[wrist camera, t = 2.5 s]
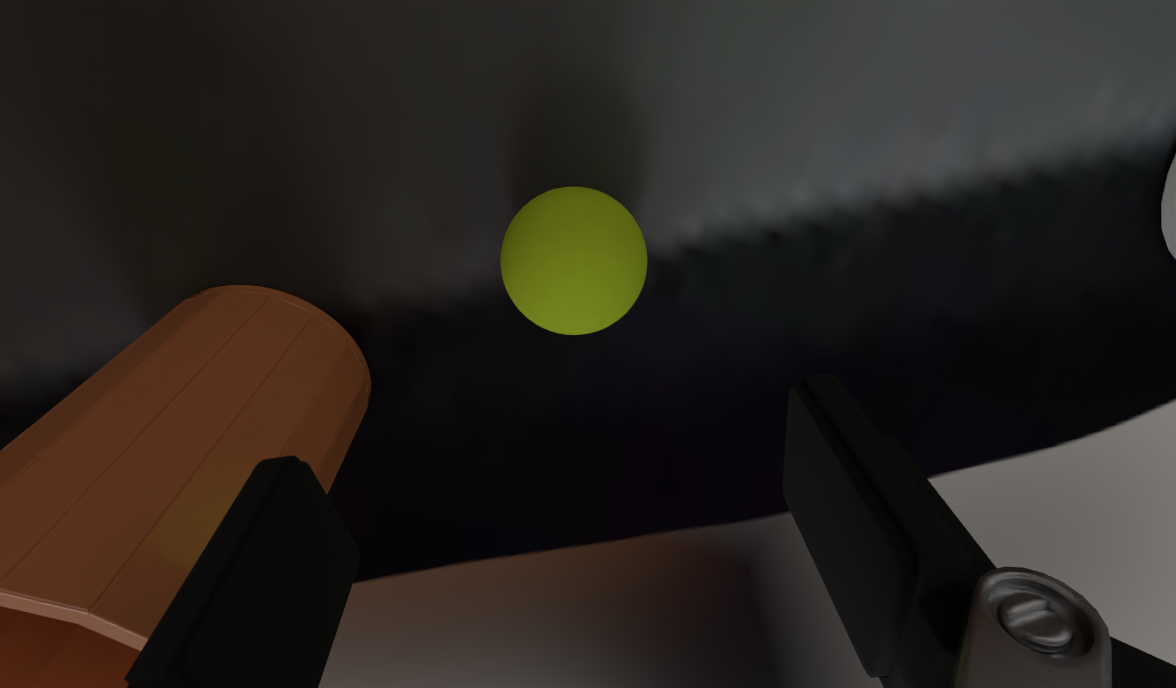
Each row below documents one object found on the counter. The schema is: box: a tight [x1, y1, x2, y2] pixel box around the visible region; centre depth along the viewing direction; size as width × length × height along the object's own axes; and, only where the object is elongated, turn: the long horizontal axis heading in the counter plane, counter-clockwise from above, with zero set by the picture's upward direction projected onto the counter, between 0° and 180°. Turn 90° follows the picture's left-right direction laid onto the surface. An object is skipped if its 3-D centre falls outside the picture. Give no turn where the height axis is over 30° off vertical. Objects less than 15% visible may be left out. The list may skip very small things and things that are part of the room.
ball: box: [501, 187, 647, 335], centre depth 19 cm, size 5×5×5 cm
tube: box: [0, 285, 371, 688], centre depth 18 cm, size 8×8×13 cm
